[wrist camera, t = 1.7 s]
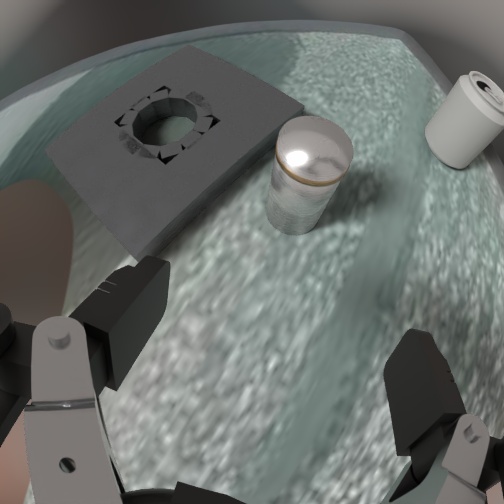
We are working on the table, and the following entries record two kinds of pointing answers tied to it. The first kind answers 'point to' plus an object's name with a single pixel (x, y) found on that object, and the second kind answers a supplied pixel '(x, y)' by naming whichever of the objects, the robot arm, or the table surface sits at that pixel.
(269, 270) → the table surface
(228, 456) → the table surface
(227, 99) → the plate
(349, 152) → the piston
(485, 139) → the can
